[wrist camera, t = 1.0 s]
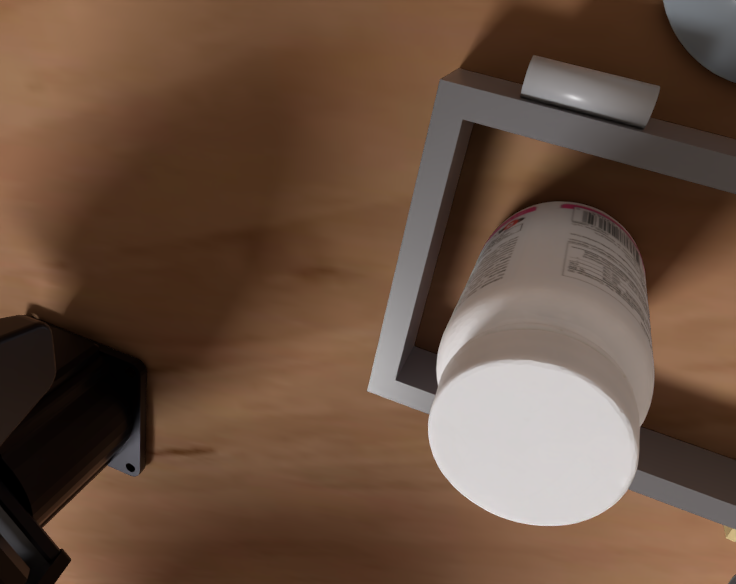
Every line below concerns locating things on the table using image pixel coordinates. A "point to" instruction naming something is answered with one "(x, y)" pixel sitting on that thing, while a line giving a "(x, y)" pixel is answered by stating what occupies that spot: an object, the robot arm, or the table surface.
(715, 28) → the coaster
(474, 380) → the pill bottle
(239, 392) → the table surface
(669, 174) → the gray rectangular frame
